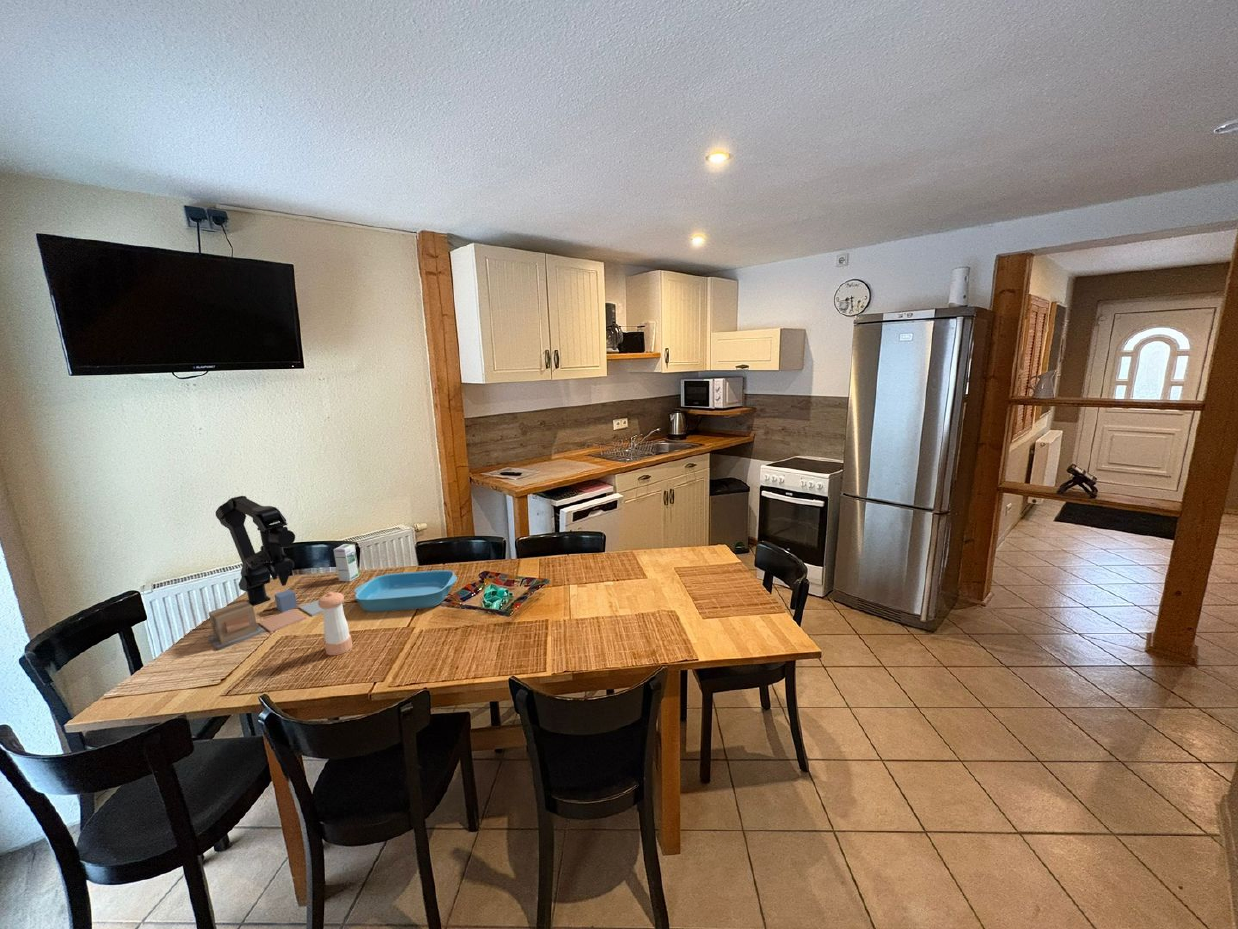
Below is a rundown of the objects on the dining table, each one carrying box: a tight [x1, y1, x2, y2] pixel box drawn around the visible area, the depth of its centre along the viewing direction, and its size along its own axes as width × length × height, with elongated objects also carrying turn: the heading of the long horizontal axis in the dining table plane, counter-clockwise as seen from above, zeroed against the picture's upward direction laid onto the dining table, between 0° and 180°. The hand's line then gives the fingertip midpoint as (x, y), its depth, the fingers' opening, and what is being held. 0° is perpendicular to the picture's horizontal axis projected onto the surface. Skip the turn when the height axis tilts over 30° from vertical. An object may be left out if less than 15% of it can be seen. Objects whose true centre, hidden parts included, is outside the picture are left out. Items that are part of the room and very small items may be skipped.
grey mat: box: [299, 599, 344, 617], centre depth 185 cm, size 11×11×1 cm
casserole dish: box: [353, 569, 458, 613], centre depth 187 cm, size 37×22×7 cm, turn 93°
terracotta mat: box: [258, 608, 307, 633], centre depth 175 cm, size 11×11×1 cm
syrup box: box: [333, 543, 361, 582], centre depth 208 cm, size 6×6×14 cm
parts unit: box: [207, 599, 266, 651], centre depth 165 cm, size 11×13×10 cm
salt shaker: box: [318, 591, 353, 656], centre depth 154 cm, size 7×7×19 cm
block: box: [274, 589, 298, 613], centre depth 184 cm, size 5×5×6 cm
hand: (279, 582), depth 182 cm, fingers open, 9 cm apart
